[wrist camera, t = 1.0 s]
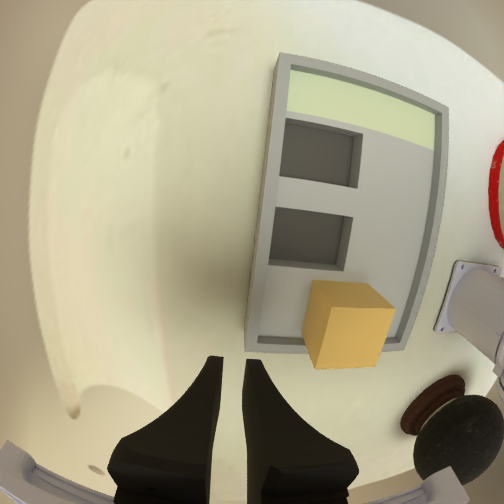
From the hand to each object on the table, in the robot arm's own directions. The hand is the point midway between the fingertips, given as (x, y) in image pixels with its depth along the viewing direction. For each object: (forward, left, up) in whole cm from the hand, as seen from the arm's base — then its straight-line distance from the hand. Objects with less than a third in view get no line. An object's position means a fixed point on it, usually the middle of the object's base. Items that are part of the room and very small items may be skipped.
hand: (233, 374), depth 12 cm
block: (-7, 0, -8) cm, 11 cm away
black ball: (-29, +16, -10) cm, 35 cm away
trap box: (-8, -7, -10) cm, 15 cm away
